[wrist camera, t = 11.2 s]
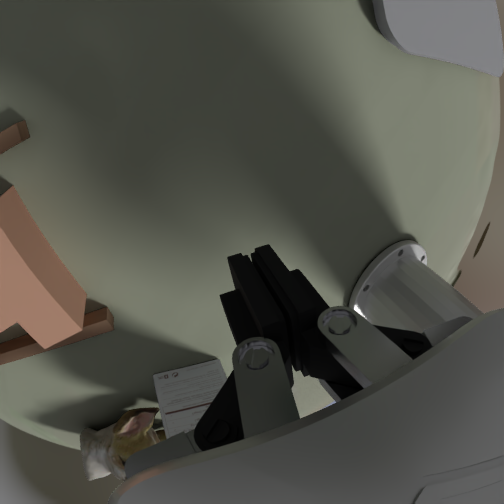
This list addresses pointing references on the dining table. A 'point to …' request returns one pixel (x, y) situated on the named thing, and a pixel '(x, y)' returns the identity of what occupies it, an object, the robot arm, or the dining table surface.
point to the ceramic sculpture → (118, 443)
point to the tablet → (445, 31)
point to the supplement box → (187, 394)
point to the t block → (35, 279)
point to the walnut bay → (92, 322)
